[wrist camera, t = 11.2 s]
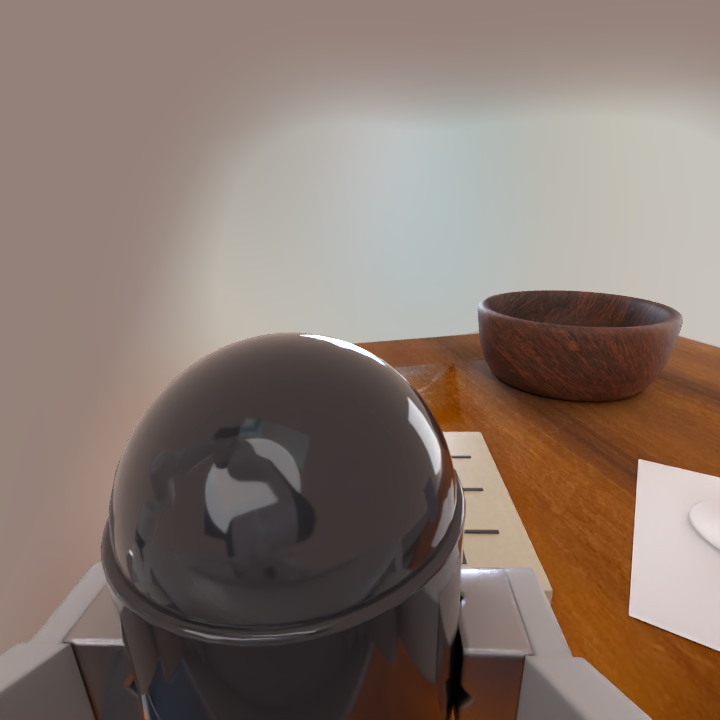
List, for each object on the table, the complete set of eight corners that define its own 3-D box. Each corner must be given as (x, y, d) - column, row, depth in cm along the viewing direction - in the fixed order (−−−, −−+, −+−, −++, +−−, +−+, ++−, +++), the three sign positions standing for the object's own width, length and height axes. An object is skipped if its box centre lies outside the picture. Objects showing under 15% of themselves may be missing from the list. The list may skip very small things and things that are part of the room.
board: (232, 600, 28) (229, 584, 27) (292, 441, 47) (291, 430, 46) (551, 605, 27) (553, 589, 26) (479, 440, 46) (480, 429, 45)
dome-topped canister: (150, 1031, 7) (-100, 430, 3) (243, 700, 11) (179, 303, 8) (462, 1056, 6) (540, 430, 3) (428, 707, 11) (445, 299, 8)
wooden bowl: (523, 340, 79) (528, 284, 76) (687, 373, 62) (704, 303, 59) (440, 376, 63) (442, 308, 60) (631, 435, 46) (649, 342, 43)
